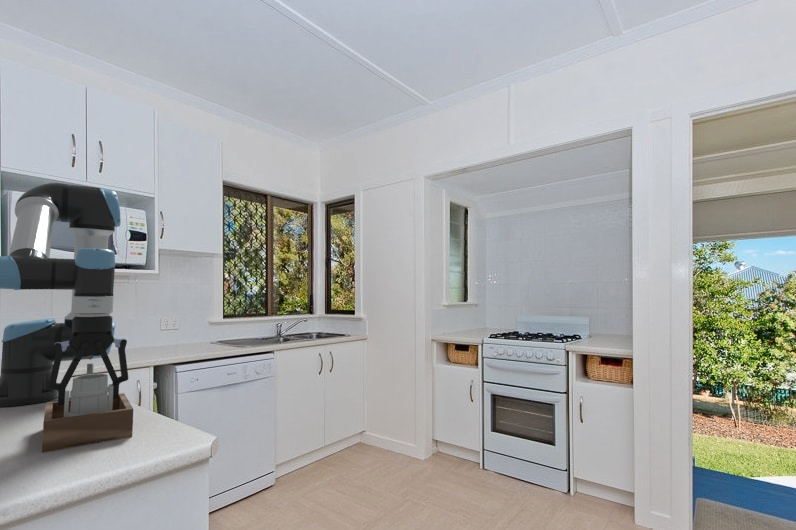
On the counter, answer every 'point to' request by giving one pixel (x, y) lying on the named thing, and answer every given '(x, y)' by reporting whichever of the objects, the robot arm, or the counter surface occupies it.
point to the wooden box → (86, 425)
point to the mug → (89, 393)
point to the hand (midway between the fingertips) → (88, 416)
